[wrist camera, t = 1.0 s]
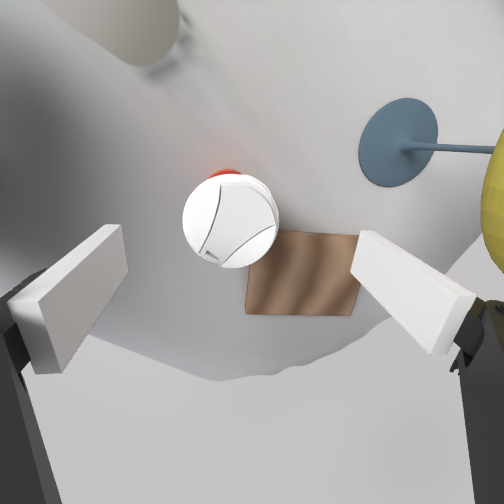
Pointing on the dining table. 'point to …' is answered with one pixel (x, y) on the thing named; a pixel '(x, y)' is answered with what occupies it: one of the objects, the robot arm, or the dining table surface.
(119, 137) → the dining table surface
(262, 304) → the walnut board
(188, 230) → the coffee cup
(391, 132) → the cocktail glass
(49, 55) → the dining table surface
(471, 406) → the robot arm
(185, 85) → the dining table surface
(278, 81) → the dining table surface
